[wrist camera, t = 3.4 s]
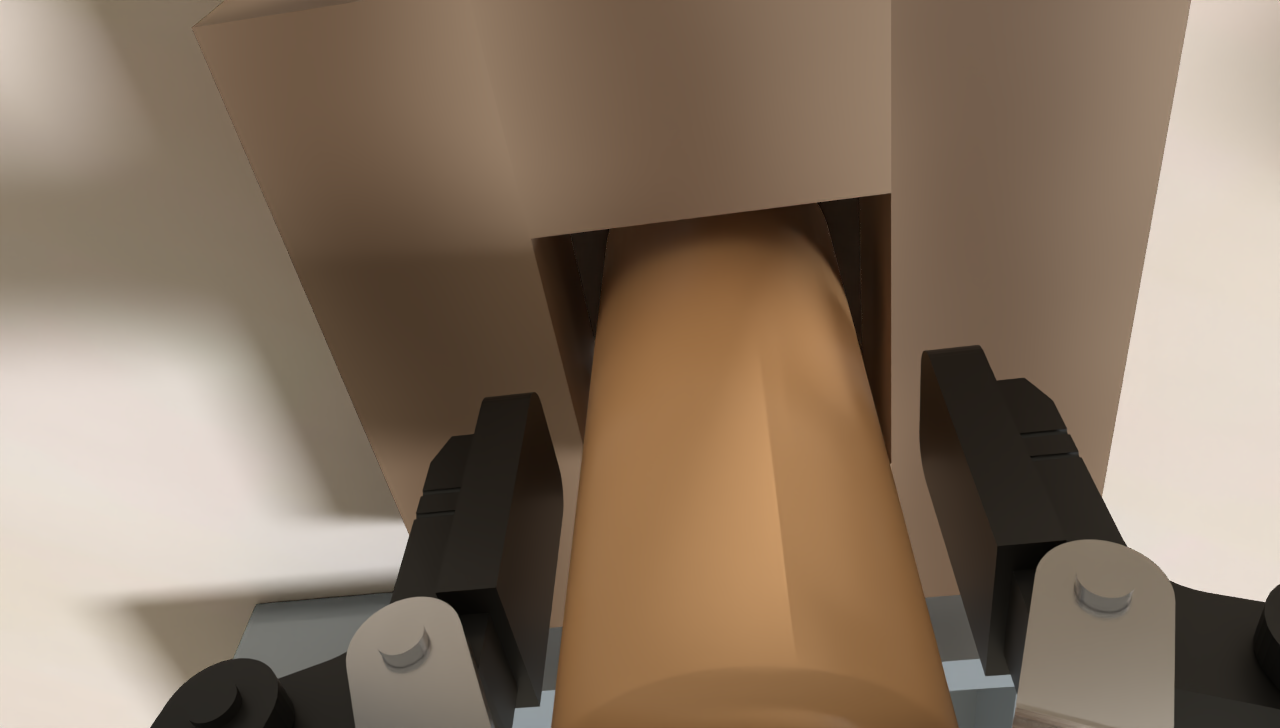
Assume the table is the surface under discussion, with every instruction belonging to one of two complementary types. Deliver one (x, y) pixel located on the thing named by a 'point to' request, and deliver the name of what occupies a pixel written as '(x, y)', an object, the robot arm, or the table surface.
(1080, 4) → the wooden square hole block
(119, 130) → the table surface
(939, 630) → the slate tray
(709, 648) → the orange plug
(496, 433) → the robot arm
